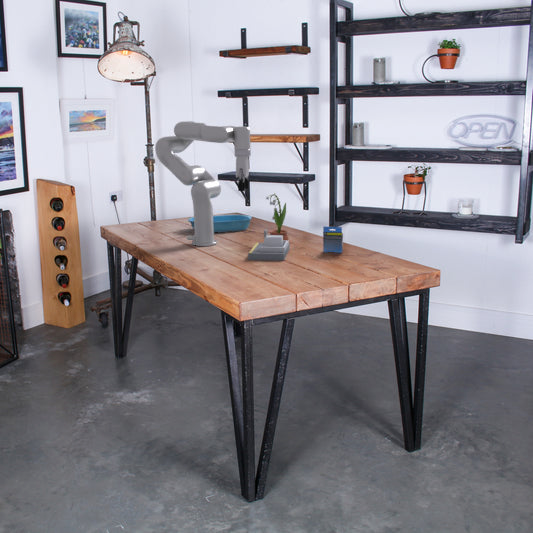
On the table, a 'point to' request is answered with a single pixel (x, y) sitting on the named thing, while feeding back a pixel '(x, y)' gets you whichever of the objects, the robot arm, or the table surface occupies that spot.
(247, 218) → the casserole dish
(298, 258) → the table surface
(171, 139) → the robot arm
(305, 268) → the table surface
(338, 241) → the label tape cartridge
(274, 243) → the lidded storage box
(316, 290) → the table surface
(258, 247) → the dock
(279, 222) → the potted flower
